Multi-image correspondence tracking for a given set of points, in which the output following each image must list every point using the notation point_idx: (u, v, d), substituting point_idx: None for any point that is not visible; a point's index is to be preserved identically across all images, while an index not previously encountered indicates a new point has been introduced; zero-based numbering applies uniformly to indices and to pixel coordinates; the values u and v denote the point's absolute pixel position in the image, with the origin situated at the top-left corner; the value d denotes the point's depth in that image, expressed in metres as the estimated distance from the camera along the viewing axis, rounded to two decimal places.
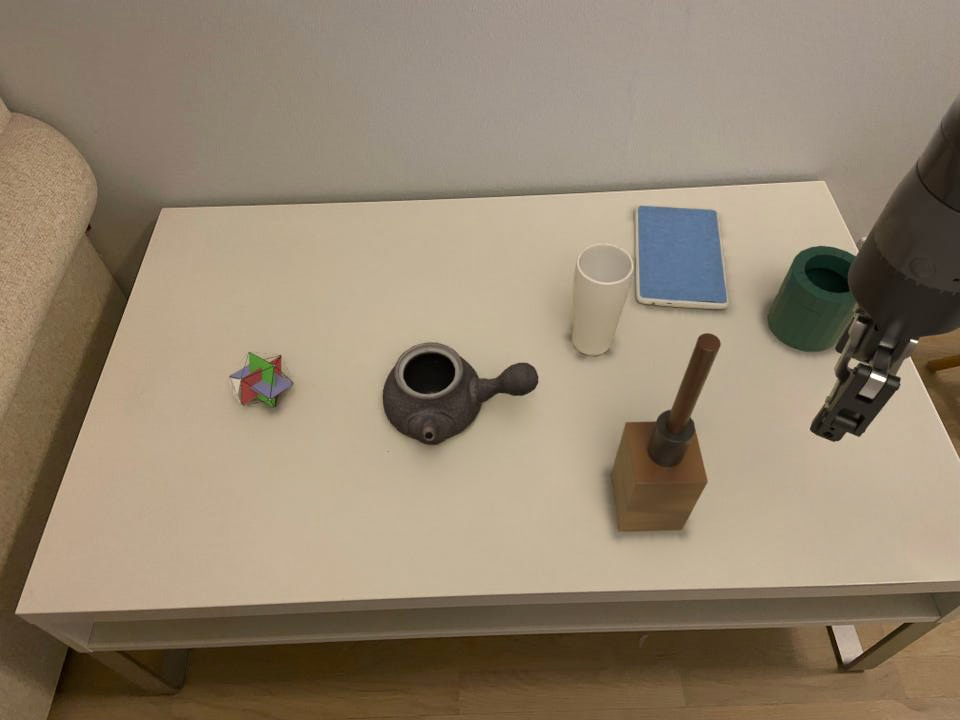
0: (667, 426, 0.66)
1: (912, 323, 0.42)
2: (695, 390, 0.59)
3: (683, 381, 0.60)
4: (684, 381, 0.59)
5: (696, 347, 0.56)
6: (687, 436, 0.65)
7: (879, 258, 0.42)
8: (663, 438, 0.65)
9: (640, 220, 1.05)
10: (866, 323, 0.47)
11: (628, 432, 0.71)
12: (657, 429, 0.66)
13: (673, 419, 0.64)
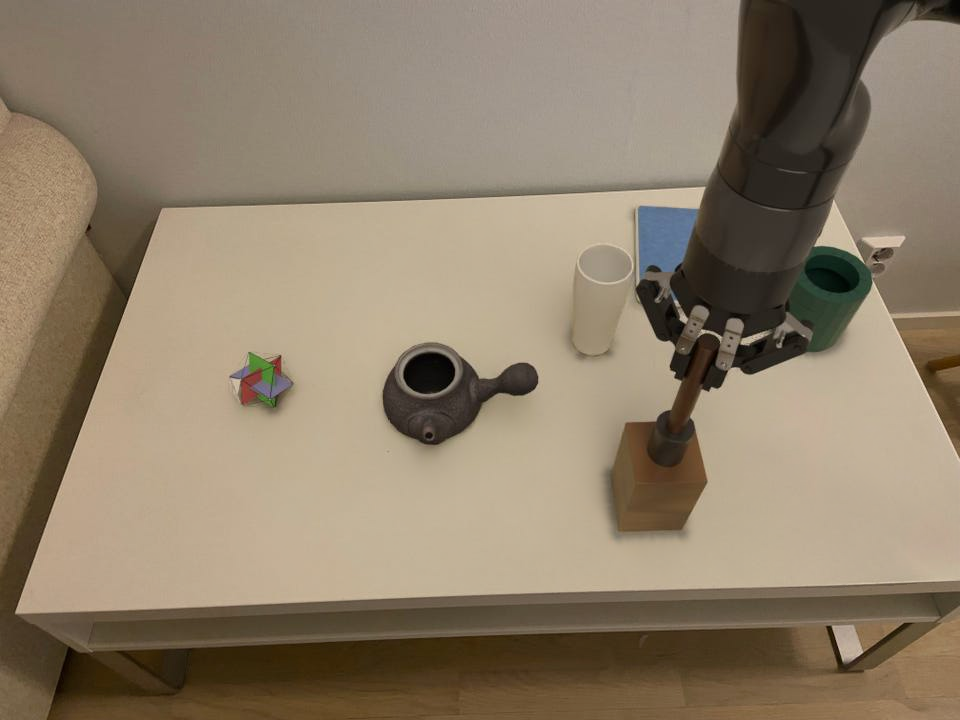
0: (667, 426, 0.66)
1: None
2: (695, 390, 0.59)
3: (683, 381, 0.60)
4: (684, 381, 0.59)
5: (696, 347, 0.56)
6: (687, 436, 0.65)
7: None
8: (663, 438, 0.65)
9: (640, 220, 1.05)
10: None
11: (628, 432, 0.71)
12: (657, 429, 0.66)
13: (673, 419, 0.64)
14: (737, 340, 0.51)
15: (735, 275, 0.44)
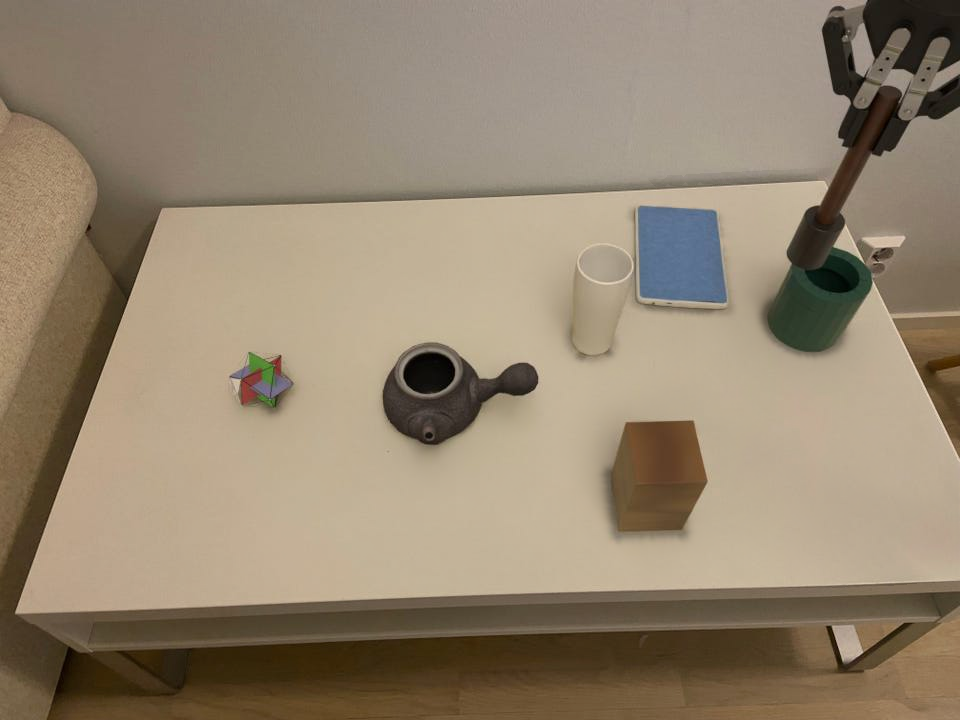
0: (817, 218, 0.64)
1: None
2: (863, 158, 0.58)
3: (849, 151, 0.58)
4: (852, 149, 0.58)
5: (875, 99, 0.54)
6: (839, 226, 0.63)
7: None
8: (814, 230, 0.64)
9: (640, 220, 1.05)
10: None
11: (628, 432, 0.71)
12: (806, 222, 0.64)
13: (827, 206, 0.62)
14: (935, 70, 0.50)
15: None
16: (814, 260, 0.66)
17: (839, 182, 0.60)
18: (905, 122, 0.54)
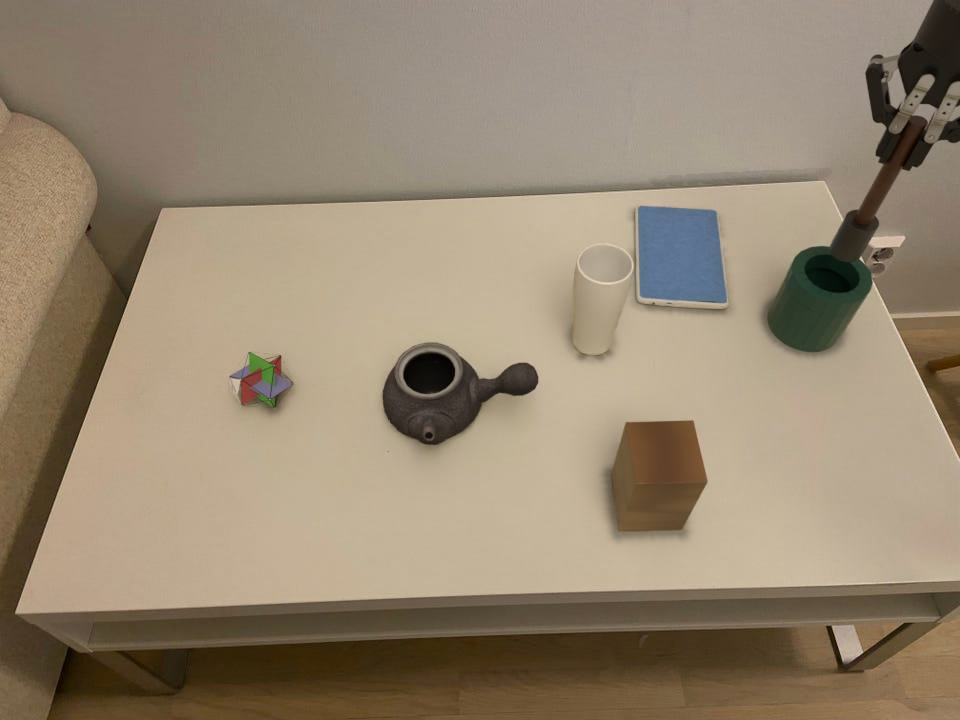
0: (856, 219, 0.79)
1: (921, 25, 0.62)
2: (895, 172, 0.72)
3: (884, 166, 0.73)
4: (886, 165, 0.73)
5: (906, 126, 0.69)
6: (874, 227, 0.78)
7: None
8: (853, 229, 0.78)
9: (640, 220, 1.05)
10: None
11: (628, 432, 0.71)
12: (847, 222, 0.79)
13: (865, 209, 0.77)
14: (953, 105, 0.64)
15: None
16: (853, 254, 0.81)
17: (875, 191, 0.75)
18: (929, 144, 0.69)
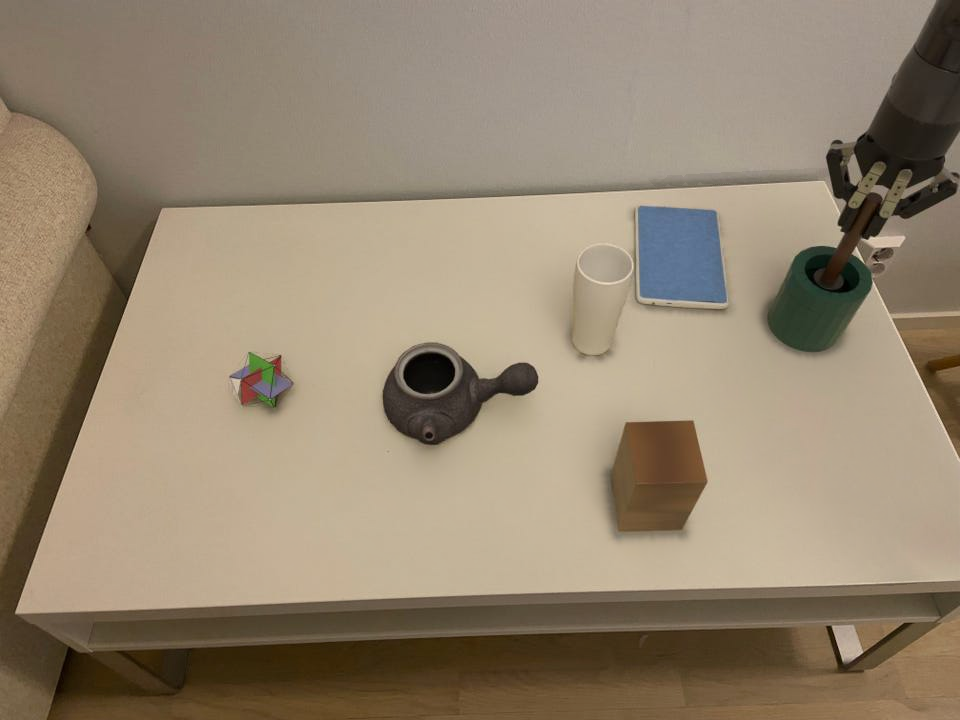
0: (823, 278, 0.87)
1: (873, 119, 0.70)
2: (856, 240, 0.80)
3: (846, 234, 0.81)
4: (847, 233, 0.80)
5: (864, 202, 0.77)
6: (839, 285, 0.86)
7: None
8: (820, 287, 0.86)
9: (640, 220, 1.05)
10: None
11: (628, 432, 0.71)
12: (815, 281, 0.87)
13: (830, 270, 0.85)
14: (903, 188, 0.72)
15: (920, 128, 0.65)
16: None
17: (839, 255, 0.83)
18: (884, 218, 0.77)
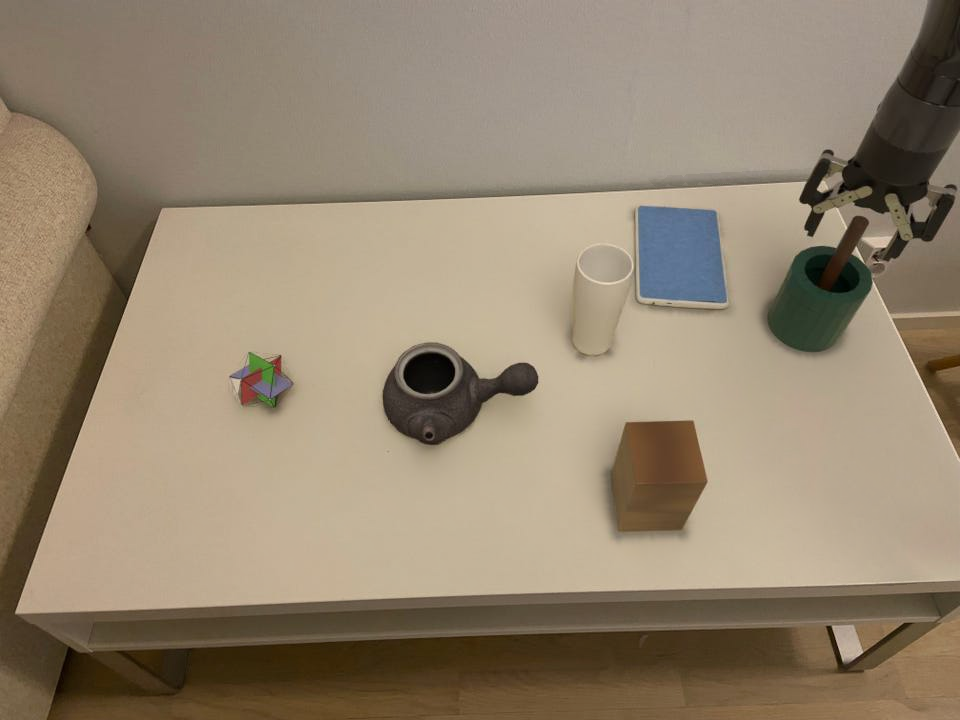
0: None
1: (860, 146, 0.73)
2: (843, 261, 0.83)
3: (834, 255, 0.84)
4: (836, 254, 0.83)
5: (851, 225, 0.80)
6: None
7: None
8: None
9: (640, 220, 1.05)
10: None
11: (628, 432, 0.71)
12: None
13: None
14: (901, 210, 0.74)
15: (904, 156, 0.68)
16: None
17: (827, 274, 0.86)
18: (905, 241, 0.78)
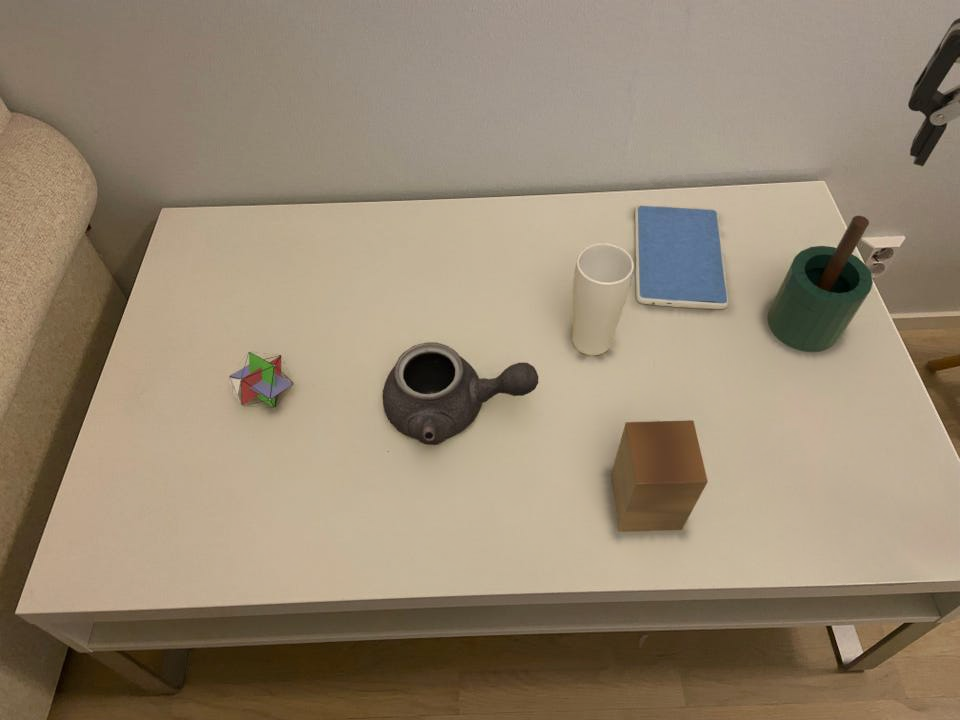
0: None
1: None
2: (843, 261, 0.83)
3: (834, 255, 0.84)
4: (836, 254, 0.83)
5: (851, 225, 0.80)
6: None
7: None
8: None
9: (640, 220, 1.05)
10: None
11: (628, 432, 0.71)
12: None
13: None
14: None
15: None
16: None
17: (827, 274, 0.86)
18: None
